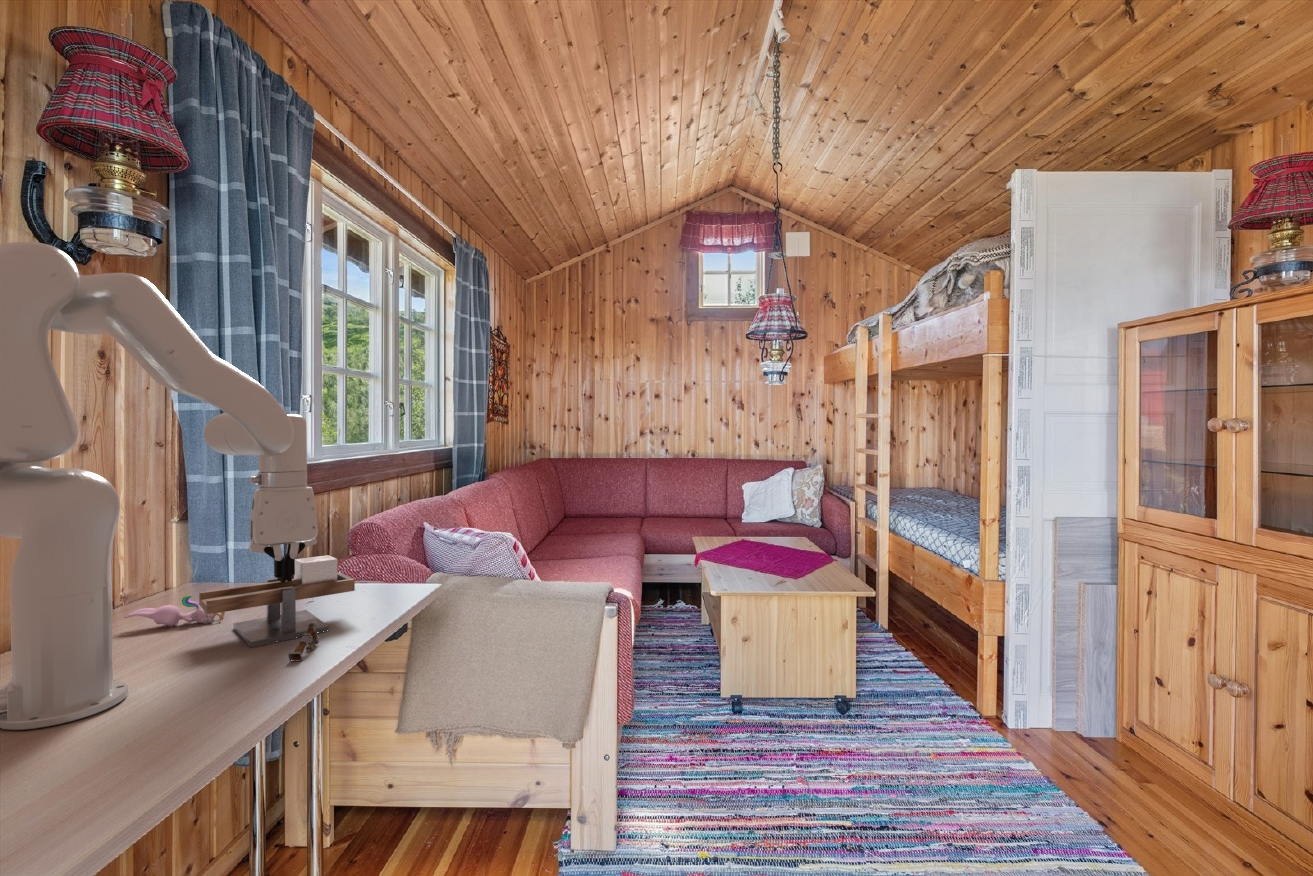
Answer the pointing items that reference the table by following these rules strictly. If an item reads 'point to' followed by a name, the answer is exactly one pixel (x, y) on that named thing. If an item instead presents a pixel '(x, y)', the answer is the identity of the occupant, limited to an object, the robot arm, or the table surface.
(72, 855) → the table surface
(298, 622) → the pivot stand
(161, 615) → the pink animal figure
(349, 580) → the balance beam
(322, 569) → the white block
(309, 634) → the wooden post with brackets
